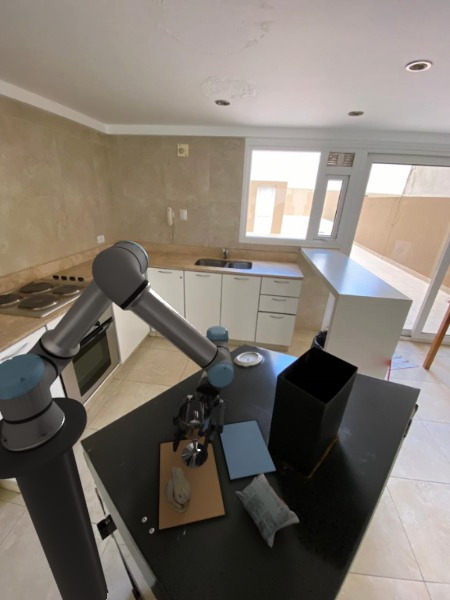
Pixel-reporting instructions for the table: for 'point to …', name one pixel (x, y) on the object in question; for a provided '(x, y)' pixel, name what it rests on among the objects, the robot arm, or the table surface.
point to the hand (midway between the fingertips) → (188, 450)
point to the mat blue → (245, 450)
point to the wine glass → (194, 430)
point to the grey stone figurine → (178, 491)
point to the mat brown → (202, 485)
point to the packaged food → (265, 508)
